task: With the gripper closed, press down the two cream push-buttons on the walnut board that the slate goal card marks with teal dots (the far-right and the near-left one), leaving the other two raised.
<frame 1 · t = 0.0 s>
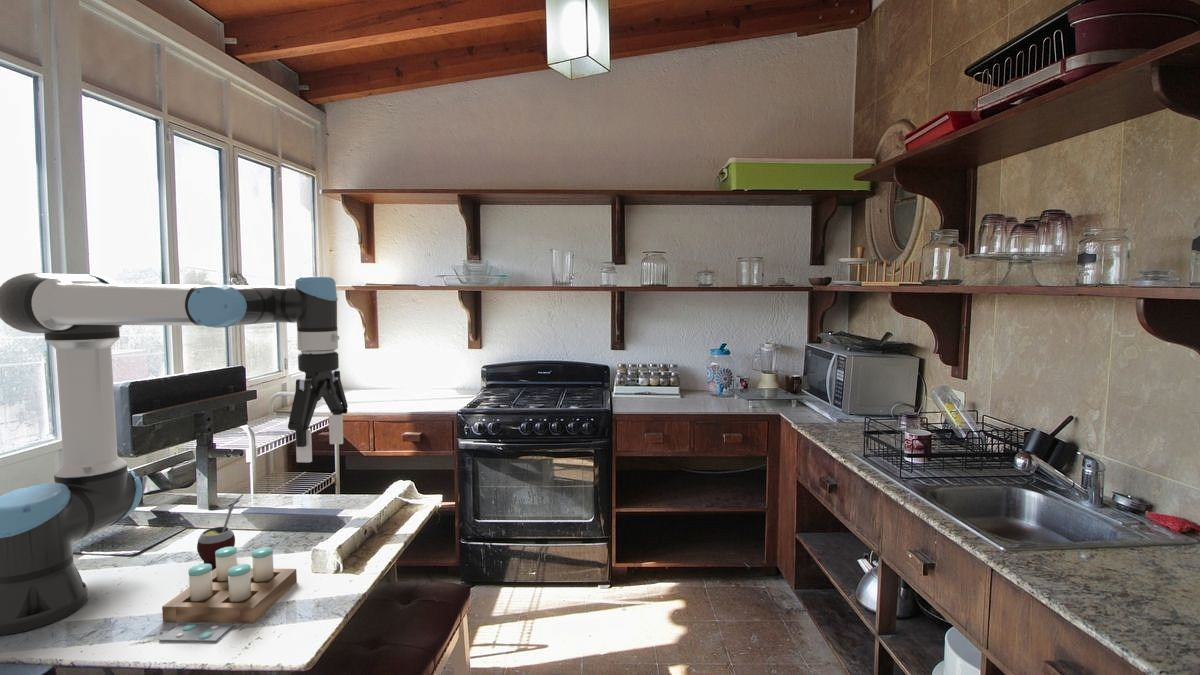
hand: (321, 452, 120), 28 cm above the kitchen island, fingers open, 13 cm apart
button near left: (226, 563, 118), point 6 cm above the kitchen island, slide at 0.0 cm
button near right: (200, 582, 110), point 6 cm above the kitchen island, slide at 0.0 cm
button far right: (239, 582, 110), point 6 cm above the kitchen island, slide at 0.0 cm
mate gourd: (219, 565, 129), on the kitchen island
button far left: (262, 564, 118), point 6 cm above the kitchen island, slide at 0.0 cm
board: (234, 600, 114), on the kitchen island
goal card: (197, 633, 103), on the kitchen island
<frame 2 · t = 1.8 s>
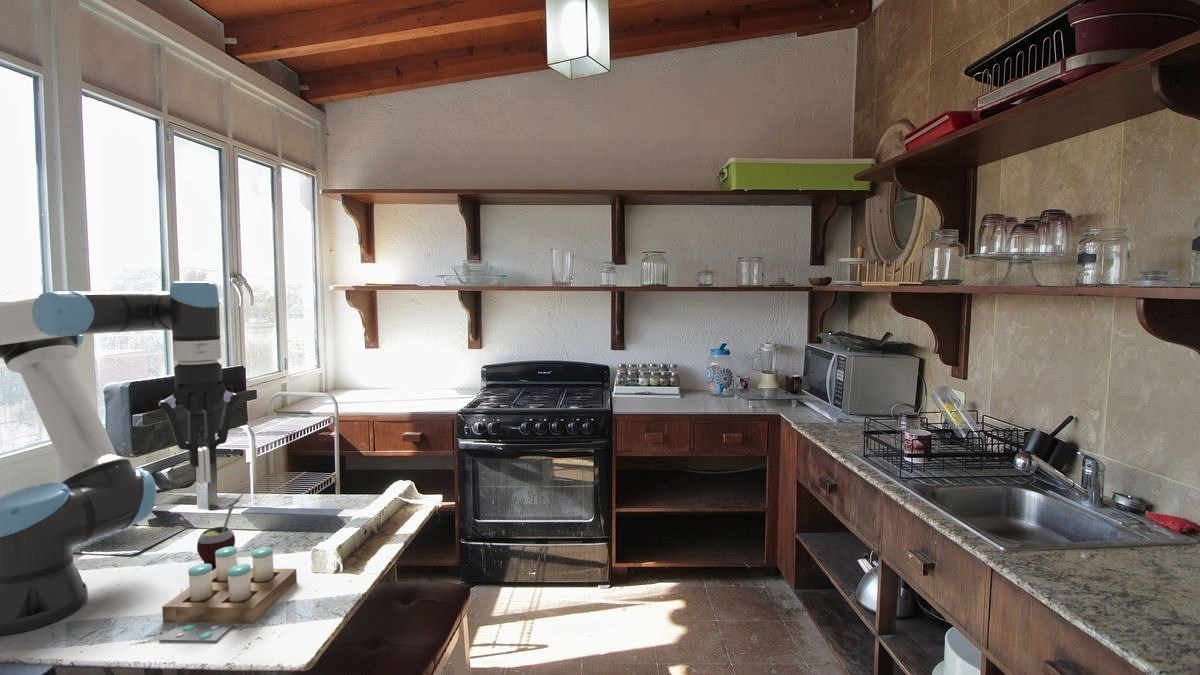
hand: (203, 481, 112), 24 cm above the kitchen island, fingers closed
nothing on the kitchen island moved.
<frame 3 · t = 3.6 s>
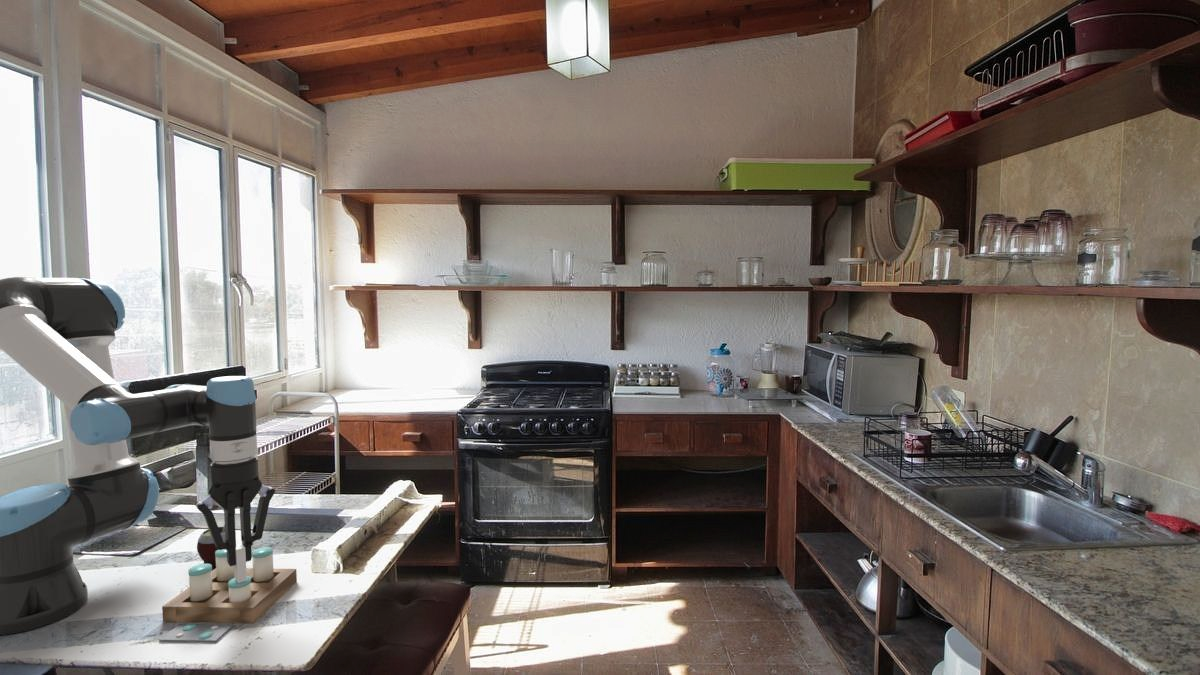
hand: (240, 579, 110), 7 cm above the kitchen island, fingers closed
button far right: (240, 594, 110), point 3 cm above the kitchen island, slide at 2.3 cm
everything else where it was.
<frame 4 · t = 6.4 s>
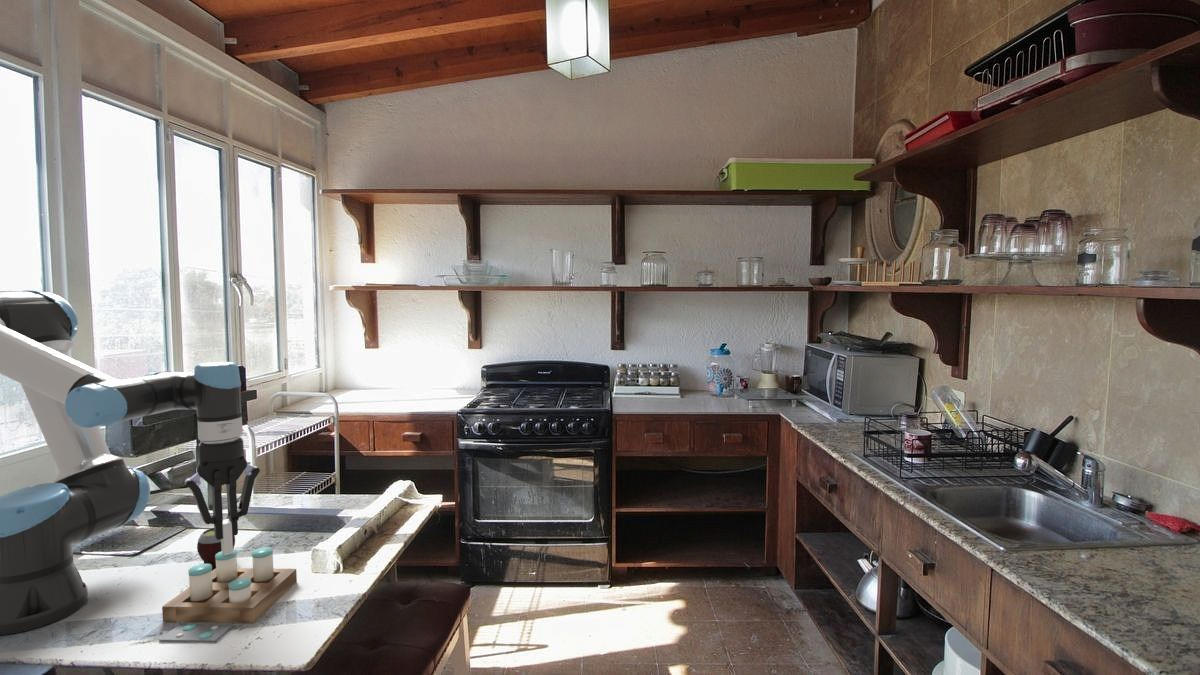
hand: (227, 552, 117), 8 cm above the kitchen island, fingers closed
button near left: (226, 566, 118), point 5 cm above the kitchen island, slide at 0.6 cm, touching gripper
button far right: (240, 596, 110), point 3 cm above the kitchen island, slide at 2.8 cm
everything else where it was.
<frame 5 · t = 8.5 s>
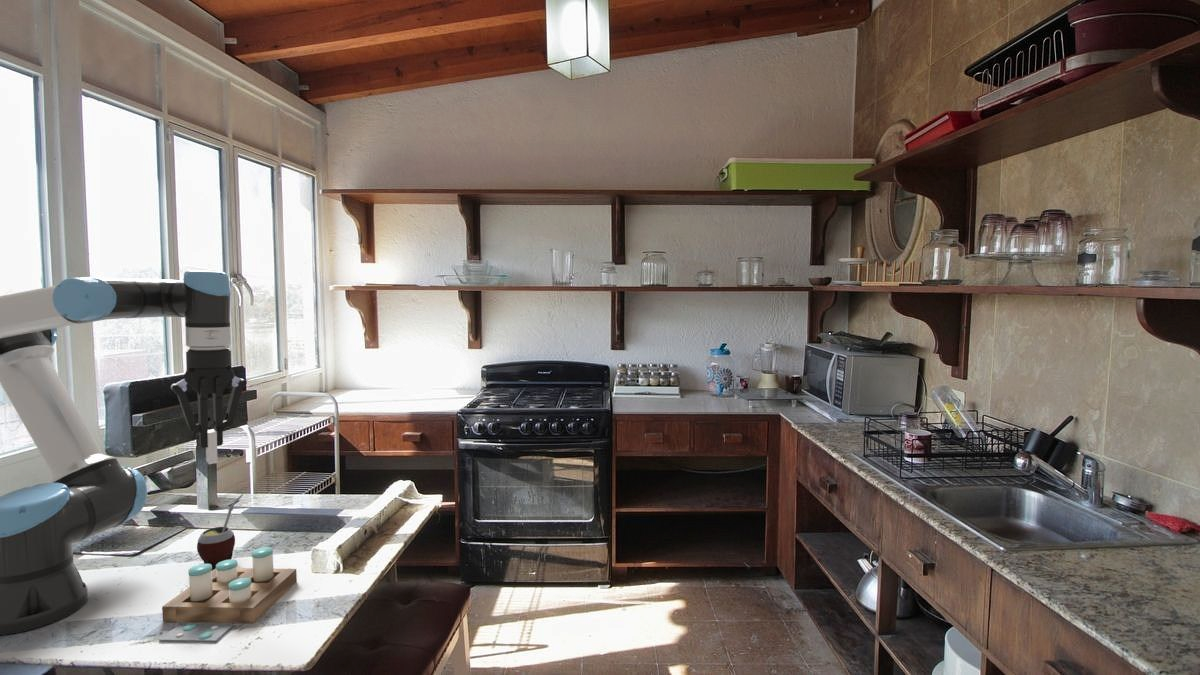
hand: (211, 461, 118), 27 cm above the kitchen island, fingers closed
button near left: (227, 576, 118), point 3 cm above the kitchen island, slide at 2.8 cm
everything else where it was.
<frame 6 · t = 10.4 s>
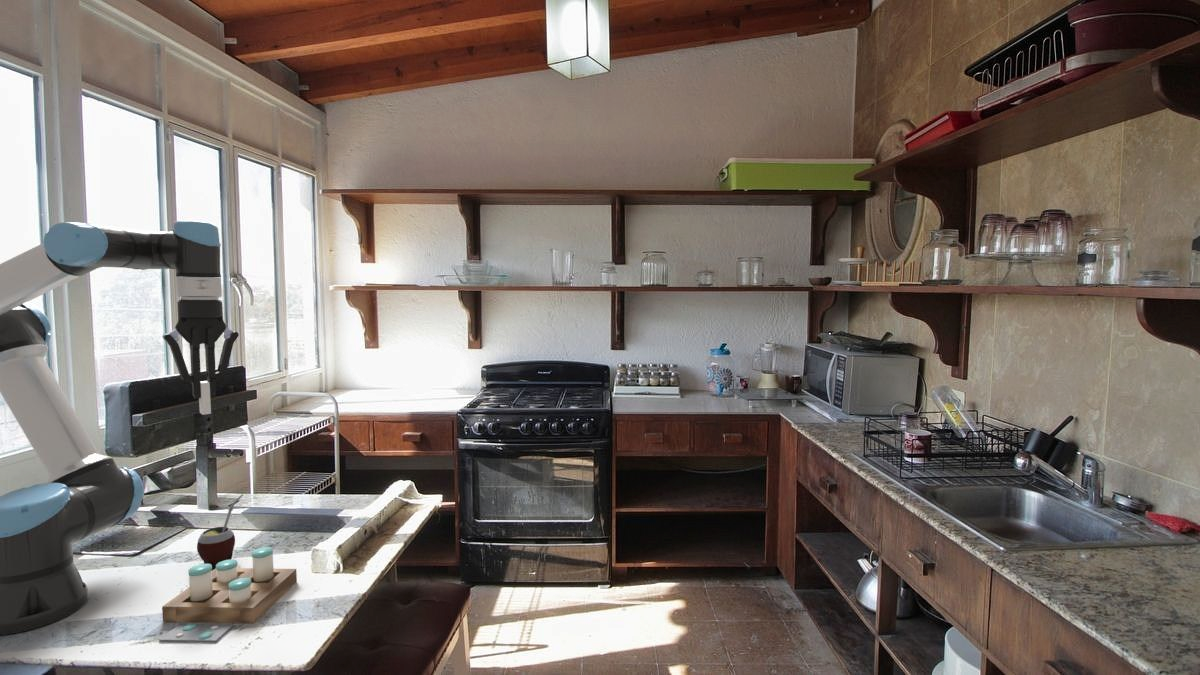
hand: (205, 413, 118), 36 cm above the kitchen island, fingers closed
nothing on the kitchen island moved.
at the end: button far right slide at 2.8 cm; button near left slide at 2.8 cm; button far left slide at 0.0 cm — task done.
